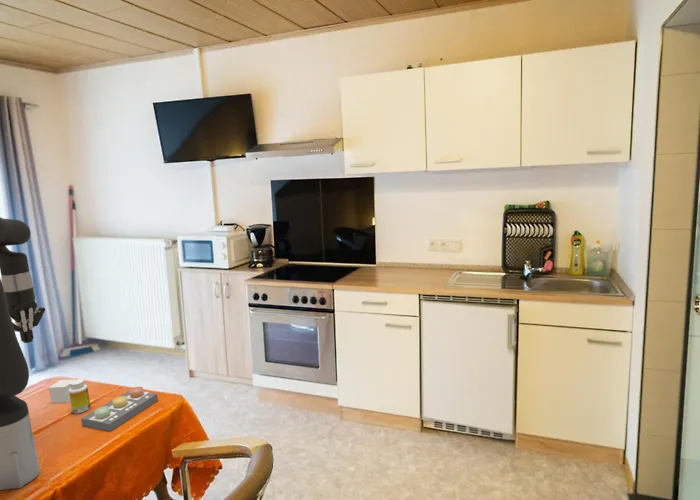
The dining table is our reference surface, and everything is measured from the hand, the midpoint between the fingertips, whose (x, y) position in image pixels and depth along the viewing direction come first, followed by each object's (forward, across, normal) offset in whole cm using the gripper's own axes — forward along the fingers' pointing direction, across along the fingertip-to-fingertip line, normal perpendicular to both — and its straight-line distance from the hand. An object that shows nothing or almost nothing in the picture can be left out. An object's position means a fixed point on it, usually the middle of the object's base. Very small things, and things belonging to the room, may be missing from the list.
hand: (28, 342), depth 144 cm
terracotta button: (+25, +22, -17) cm, 38 cm away
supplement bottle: (+29, +12, -2) cm, 31 cm away
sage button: (+26, +8, -17) cm, 32 cm away
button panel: (+29, +15, -17) cm, 37 cm away
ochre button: (+26, +15, -17) cm, 34 cm away
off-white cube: (+29, +16, +12) cm, 35 cm away
